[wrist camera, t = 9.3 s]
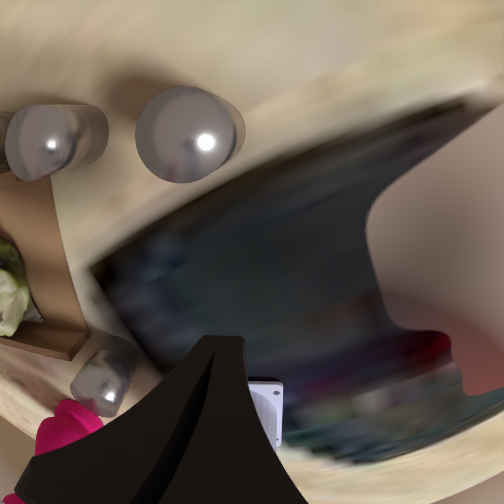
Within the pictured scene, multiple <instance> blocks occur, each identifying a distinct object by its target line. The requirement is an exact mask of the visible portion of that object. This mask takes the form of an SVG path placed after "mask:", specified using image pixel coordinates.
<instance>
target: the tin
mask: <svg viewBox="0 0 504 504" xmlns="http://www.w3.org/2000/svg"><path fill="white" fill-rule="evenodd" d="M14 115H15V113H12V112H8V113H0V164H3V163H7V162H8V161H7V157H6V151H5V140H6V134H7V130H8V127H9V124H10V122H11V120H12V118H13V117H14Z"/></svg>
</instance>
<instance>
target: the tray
mask: <svg viewBox="0 0 504 504" xmlns="http://www.w3.org/2000/svg"><path fill="white" fill-rule="evenodd" d="M0 237H1V238H3V239H5V240H7V241H9V242H11V243H12V244H13V245H14V246H15V248H16V250H17V252H18V255H19V257H20V260H21V262H22V265H23V267H24V270H25V272H26V275H27V280H28V286H29V293H30V297H31V300H32V303H33V304H34V306H35V308H36V309H37V311H38V313H39V314H40V316H41V317H42V318H43V323H39V322H34V321H21V322H20V323H19V325H18V328H17V330H16V331H15V332H14V333H13V335H12V336H10V337H9V336H7V335H3V336H0V343H1V344H4V345H8V346H11V347H15V348H18V349H22V350H25V351H29V352H33V353H37V354H41V355H45V356H49V357H53V358H57V359H61V360H66V361H70V362H71V361H72V359H73V358H74V357H75V355H76V354H77V353H78V352H79V350H80V349H81V348H82V346H83V345H84V344H85V342H86V341H87V340H88V339H89V337H90V334H89V331H88V328H87V325H86V322H85V320H84V317H83V314H82V311H81V308H80V305H79V301H78V298H77V295H76V292H75V288H74V285H73V282H72V278H71V275H70V271H69V267H68V264H67V260H66V256H65V252H64V248H63V243H62V239H61V235H60V230H59V225H58V221H57V216H56V210H55V205H54V199H53V193H52V187H51V180H50V175H49V176H46V177H43V178H40V179H37V180H34V181H24V180H21V179H19V178H18V177H17V176H16V175H15V174H14V173H13V172H12V170H10V171H7V172H3V173H0Z"/></svg>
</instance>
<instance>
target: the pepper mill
mask: <svg viewBox="0 0 504 504" xmlns="http://www.w3.org/2000/svg"><path fill="white" fill-rule="evenodd" d="M54 415H55V417H49V418H46V419H44V420H43V421H42V422H41V424H40V426H39V428H38V431H37V435H36V448H35V456H37V455H40V454H43V453H46V452H49V451H52V450H55V449H57V448H60V447H63V446H65V445H68V444H70V443H72V442H74V441H77V440H79V439H81V438H83V437H85V436H87V435H89V434H91V433H93V432H94V431H96V430H98V429H100V428H101V427H103V426H104V425H103V423H102V421H101V420H100V419H99V418H98V416H97V415H96V414H94V413H92V412H90V411H88V410H87V409H85V408H84V407H83V406H82V405H80V404H79V403H78V402H75V401H73V400H69V399H65V400H62V401H60V403H59V404H58V406H57V407H56V409H55V410H54ZM2 502H3V503H5V504H26V503H25V502H23V501H22V500H21V499H20V498H19V497H18V496H17V495H16V493H14V494H9V495H7V496H5V498H4V499H3V501H2Z"/></svg>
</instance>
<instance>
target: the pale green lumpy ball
mask: <svg viewBox="0 0 504 504" xmlns="http://www.w3.org/2000/svg"><path fill="white" fill-rule="evenodd" d="M21 321H34V322H39V323H43V318H42V317H41V316H40V314H39V313H38V311H37V309H36V308H35V306H34V304H33V303H32V300H31V297H30V293H29V286H28V280H27V275H26V272H25V270H24V267H23V265H22V262H21V260H20V257H19V255H18V252H17V250H16V248H15V246H14V245H13V244H12V243H11V242H9V241H7V240H5V239H3V238H1V237H0V336H3V335H7V336H9V337H10V336H12V335H13V333H14V332H15V331H16V330H17V328H18V325H19V323H20V322H21Z"/></svg>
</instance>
